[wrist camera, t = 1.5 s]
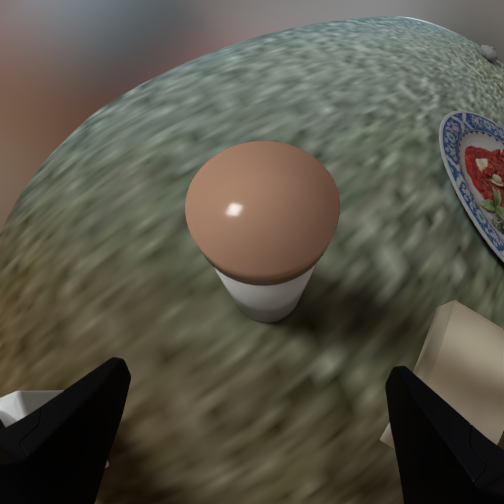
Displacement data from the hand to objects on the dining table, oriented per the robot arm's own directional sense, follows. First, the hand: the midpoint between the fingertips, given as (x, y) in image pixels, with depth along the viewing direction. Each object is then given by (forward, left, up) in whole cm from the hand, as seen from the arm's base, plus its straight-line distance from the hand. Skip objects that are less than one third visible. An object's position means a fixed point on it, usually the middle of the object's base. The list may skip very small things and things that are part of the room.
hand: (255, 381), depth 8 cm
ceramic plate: (+30, -20, -13) cm, 39 cm away
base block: (+4, -17, -12) cm, 22 cm away
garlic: (+90, -25, -12) cm, 95 cm away
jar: (+5, +3, -12) cm, 14 cm away
